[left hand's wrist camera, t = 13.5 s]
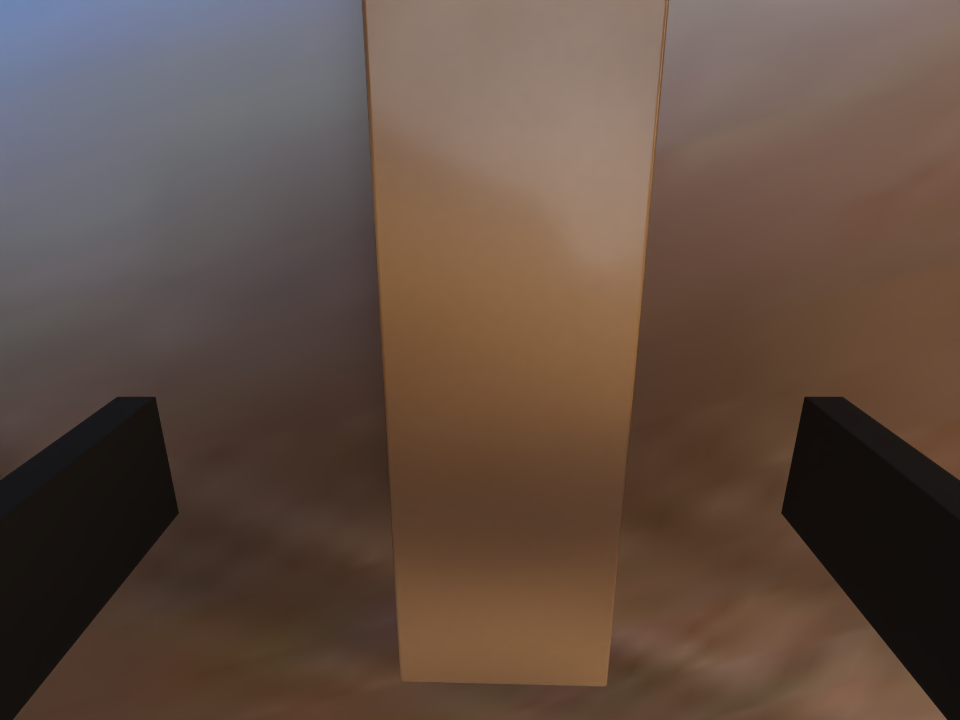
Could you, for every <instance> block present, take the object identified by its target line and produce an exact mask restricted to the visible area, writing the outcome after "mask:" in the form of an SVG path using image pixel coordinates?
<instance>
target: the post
mask: <svg viewBox="0 0 960 720" xmlns="http://www.w3.org/2000/svg"><path fill="white" fill-rule="evenodd" d="M668 6H669V0H362V12H363V29H364V47H365V65H366V82H367V100H368V118H369V135H370V153H371V171H372V189H373V206H374V224H375V242H376V259H377V277H378V295H379V312H380V330H381V348H382V365H383V383H384V401H385V419H386V436H387V454H388V472H389V489H390V507H391V525H392V542H393V560H394V578H395V595H396V613H397V631H398V649H399V666H400V679H401V681H409V682H450V683H491V684H532V685H573V686H606V684H607V678H608V667H609V656H610V645H611V634H612V623H613V612H614V601H615V590H616V579H617V568H618V557H619V546H620V535H621V524H622V513H623V502H624V491H625V480H626V469H627V458H628V447H629V436H630V425H631V414H632V403H633V392H634V381H635V370H636V359H637V348H638V337H639V325H640V314H641V303H642V292H643V281H644V270H645V259H646V248H647V237H648V226H649V215H650V204H651V193H652V182H653V171H654V160H655V149H656V138H657V127H658V116H659V105H660V94H661V83H662V72H663V61H664V50H665V39H666V28H667V17H668Z"/></svg>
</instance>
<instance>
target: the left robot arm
mask: <svg viewBox="0 0 960 720" xmlns="http://www.w3.org/2000/svg"><path fill="white" fill-rule="evenodd" d="M178 513H179V512H178V507H177V502H176V497H175V492H174V487H173V482H172V477H171V472H170V467H169V463H168V458H167V453H166V448H165V443H164V438H163V433H162V428H161V423H160V418H159V413H158V408H157V403H156V398H155V397H117V398H115V399H114V400H112V401H111V402H110V403H108V404H107V405H105V406H104V407H103V408H101V409H100V410H98V411H97V412H96V413H94V414H93V415H91V416H90V417H89V418H87V419H86V420H84V421H83V422H82V423H80V424H79V425H77V426H76V427H75V428H73V429H72V430H70V431H69V432H68V433H66V434H65V435H63V436H62V437H61V438H59V439H58V440H56V441H55V442H54V443H52V444H51V445H49V446H48V447H47V448H45V449H44V450H42V451H41V452H40V453H38V454H37V455H35V456H34V457H33V458H31V459H30V460H28V461H27V462H26V463H24V464H23V465H21V466H20V467H19V468H17V469H16V470H14V471H13V472H12V473H10V474H9V475H7V476H6V477H5V478H3V479H2V480H0V720H13V719H14V717H15V716H16V715H17V714H18V713H19V711H20V710H21V709H22V708H23V706H24V705H25V704H26V703H27V701H28V700H29V699H30V698H31V696H32V695H33V694H34V693H35V691H36V690H37V689H38V688H39V686H40V685H41V684H42V683H43V681H44V680H45V679H46V678H47V676H48V675H49V674H50V673H51V671H52V670H53V669H54V668H55V666H56V665H57V664H58V663H59V661H60V660H61V659H62V658H63V656H64V655H65V654H66V653H67V652H68V650H69V649H70V648H71V647H72V645H73V644H74V643H75V642H76V640H77V639H78V638H79V637H80V635H81V634H82V633H83V632H84V630H85V629H86V628H87V627H88V625H89V624H90V623H91V622H92V620H93V619H94V618H95V617H96V615H97V614H98V613H99V612H100V610H101V609H102V608H103V607H104V605H105V604H106V603H107V602H108V600H109V599H110V598H111V597H112V595H113V594H114V593H115V592H116V591H117V589H118V588H119V587H120V586H121V584H122V583H123V582H124V581H125V579H126V578H127V577H128V576H129V574H130V573H131V572H132V571H133V569H134V568H135V567H136V566H137V564H138V563H139V562H140V561H141V559H142V558H143V557H144V556H145V554H146V553H147V552H148V551H149V549H150V548H151V547H152V546H153V544H154V543H155V542H156V541H157V539H158V538H159V537H160V536H161V534H162V533H163V532H164V531H165V530H166V528H167V527H168V526H169V525H170V523H171V522H172V521H173V520H174V518H175V517H176V516H177V515H178ZM781 513H782V515H783V516H784V517H785V518H786V520H787V521H788V522H789V523H790V525H791V526H792V527H793V528H794V530H795V531H796V532H797V533H798V534H799V536H800V537H801V538H802V539H803V541H804V542H805V543H806V544H807V546H808V547H809V548H810V549H811V551H812V552H813V553H814V554H815V556H816V557H817V558H818V559H819V561H820V562H821V563H822V564H823V566H824V567H825V568H826V569H827V571H828V572H829V573H830V574H831V576H832V577H833V578H834V579H835V581H836V582H837V583H838V584H839V586H840V587H841V588H842V589H843V591H844V592H845V593H846V594H847V595H848V597H849V598H850V599H851V600H852V602H853V603H854V604H855V605H856V607H857V608H858V609H859V610H860V612H861V613H862V614H863V615H864V617H865V618H866V619H867V620H868V622H869V623H870V624H871V625H872V627H873V628H874V629H875V630H876V632H877V633H878V634H879V635H880V637H881V638H882V639H883V640H884V642H885V643H886V644H887V645H888V647H889V648H890V649H891V650H892V652H893V653H894V654H895V655H896V656H897V658H898V659H899V660H900V661H901V663H902V664H903V665H904V666H905V668H906V669H907V670H908V671H909V673H910V674H911V675H912V676H913V678H914V679H915V680H916V681H917V683H918V684H919V685H920V686H921V688H922V689H923V690H924V691H925V693H926V694H927V695H928V696H929V698H930V699H931V700H932V701H933V703H934V704H935V705H936V706H937V708H938V709H939V710H940V711H941V713H942V714H943V715H944V716H945V717H946V719H947V720H960V480H958V479H957V478H955V477H954V476H953V475H951V474H950V473H948V472H947V471H946V470H944V469H943V468H941V467H940V466H939V465H937V464H936V463H934V462H933V461H932V460H930V459H929V458H927V457H926V456H925V455H923V454H922V453H920V452H919V451H918V450H916V449H915V448H913V447H912V446H911V445H909V444H908V443H906V442H905V441H904V440H902V439H901V438H899V437H898V436H897V435H895V434H894V433H892V432H891V431H890V430H888V429H887V428H885V427H884V426H883V425H881V424H880V423H878V422H877V421H876V420H874V419H873V418H871V417H870V416H869V415H867V414H866V413H864V412H863V411H862V410H860V409H859V408H857V407H856V406H855V405H853V404H852V403H850V402H849V401H848V400H846V399H845V398H843V397H805V398H804V403H803V408H802V413H801V418H800V423H799V428H798V433H797V438H796V443H795V448H794V453H793V458H792V463H791V467H790V472H789V477H788V482H787V487H786V492H785V497H784V502H783V507H782V512H781Z"/></svg>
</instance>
